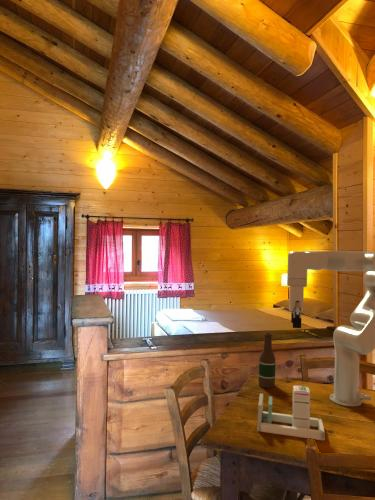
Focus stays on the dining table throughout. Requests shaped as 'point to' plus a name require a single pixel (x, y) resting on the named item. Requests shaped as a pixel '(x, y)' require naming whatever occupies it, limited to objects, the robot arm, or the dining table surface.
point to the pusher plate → (269, 412)
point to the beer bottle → (267, 364)
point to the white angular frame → (288, 429)
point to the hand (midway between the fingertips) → (296, 325)
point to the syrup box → (301, 407)
